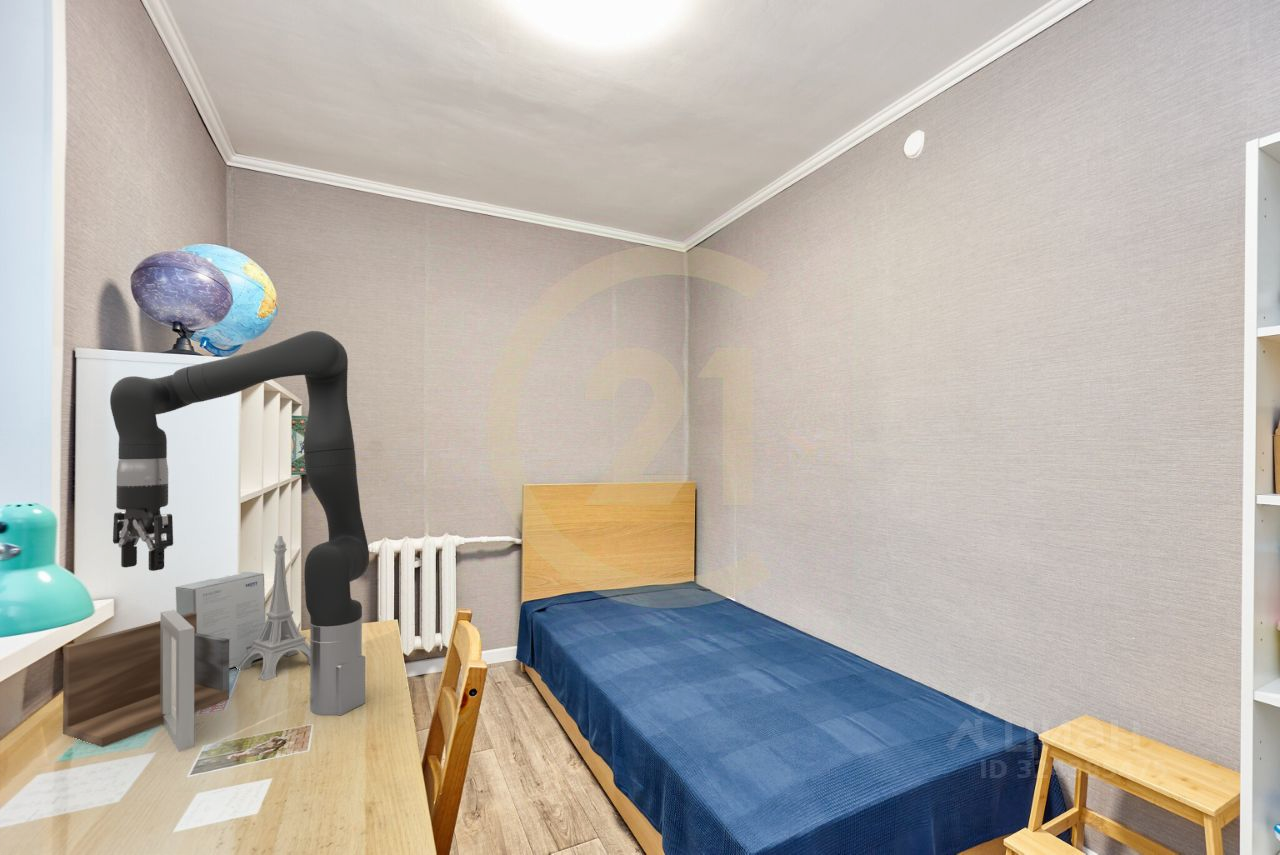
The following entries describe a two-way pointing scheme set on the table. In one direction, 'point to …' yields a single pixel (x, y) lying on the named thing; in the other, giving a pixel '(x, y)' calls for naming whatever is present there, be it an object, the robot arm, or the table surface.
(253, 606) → the hard drive box
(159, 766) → the table surface
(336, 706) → the robot arm
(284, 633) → the eiffel tower
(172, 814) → the table surface
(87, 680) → the walnut shelf
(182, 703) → the picture frame
